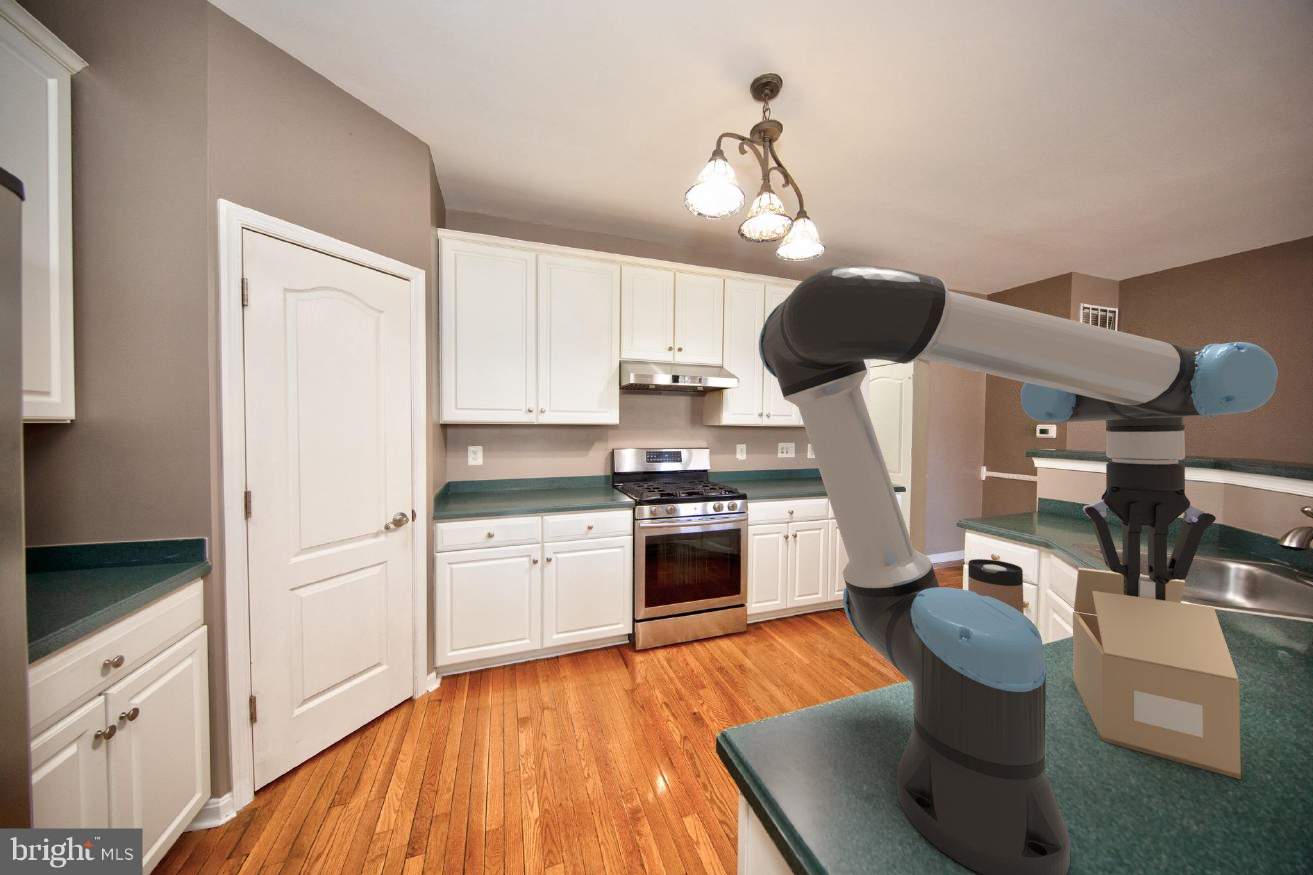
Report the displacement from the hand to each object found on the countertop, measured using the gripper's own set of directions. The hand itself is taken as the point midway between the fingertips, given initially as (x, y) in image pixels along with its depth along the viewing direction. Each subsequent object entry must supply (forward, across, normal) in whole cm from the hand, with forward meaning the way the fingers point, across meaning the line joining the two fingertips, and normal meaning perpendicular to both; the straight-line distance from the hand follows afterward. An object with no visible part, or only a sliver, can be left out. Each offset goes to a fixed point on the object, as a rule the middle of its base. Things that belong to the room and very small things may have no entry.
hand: (1144, 622), depth 63 cm
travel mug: (+15, +17, -3) cm, 23 cm away
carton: (+15, 0, -1) cm, 15 cm away
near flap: (-1, 0, +5) cm, 5 cm away
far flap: (-1, 0, -9) cm, 9 cm away
